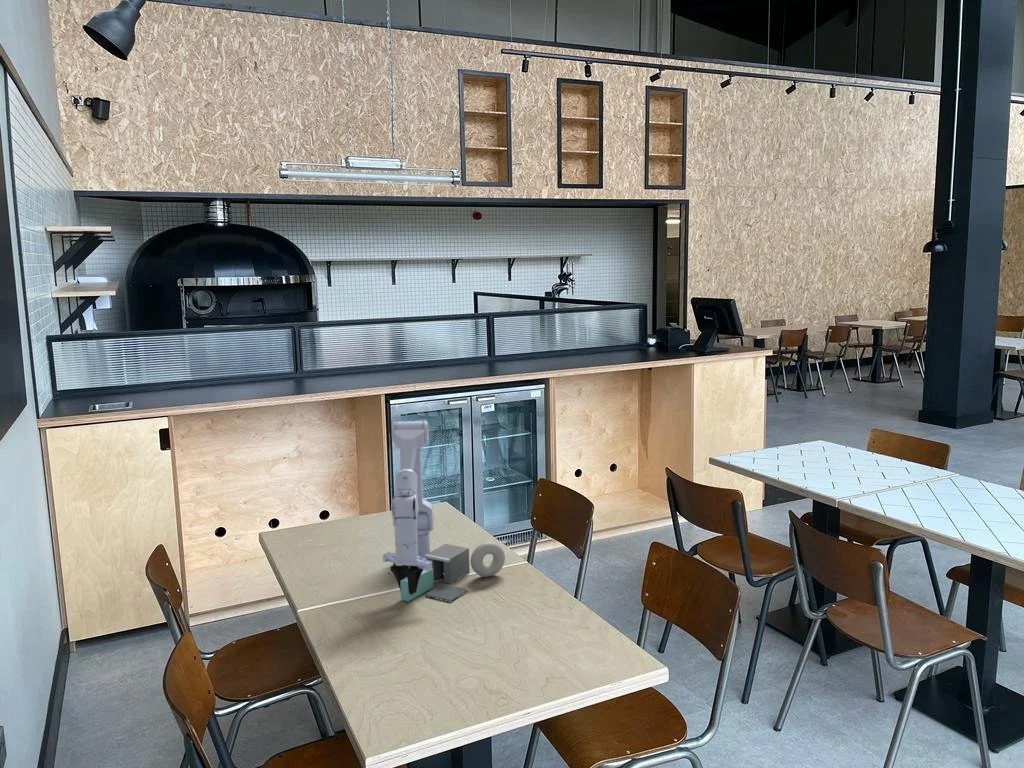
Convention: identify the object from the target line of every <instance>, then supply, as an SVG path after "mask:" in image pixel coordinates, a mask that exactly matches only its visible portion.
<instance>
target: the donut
mask: <svg viewBox="0 0 1024 768" xmlns="http://www.w3.org/2000/svg"><path fill="white" fill-rule="evenodd" d="M487 555H492V561H491V562H490V563H488V564H486V563H484V561H483V560H484V558H485V557H486V556H487ZM505 562H506V555H505V551H504V549H503V547H502V546H501V545H500V544H498V543H497V542H494V541H485V542H482V543H480V544H479V545H477V546H476V547H475V549H473V552H472V554H471V556H470V566H471V569H472V570H473V572H474V573H476V575H477V576H479V577H483V578H486V577H487V578H489V576H490V577H493V576H495V575H497V574H498V573H500V571H501V570H502V568H503V567H504V566H505V565H504V564H505Z"/></svg>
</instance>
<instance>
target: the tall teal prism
mask: <svg viewBox="0 0 1024 768" xmlns="http://www.w3.org/2000/svg"><path fill="white" fill-rule="evenodd" d="M400 586H401V592H400V600H401V601H405V602H410V601H411V600H414V599H416V598H417V597H418V596H421V595H423V594H424V593H426V592H427V590H428V591H430V590H431V589H433V588H434V580H433V569H431V570H429V571H425V569H424V570H423V571H422V573H421V576H420V578H419V581H418V585H417V590H416V592H415V593H414V594H412V595H411V594H410V593H409V587H408V579H407V577H406V578H404V579H402V580H400ZM432 587H433V588H432ZM430 588H431V589H430ZM429 589H430V590H429Z"/></svg>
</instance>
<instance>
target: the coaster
mask: <svg viewBox="0 0 1024 768" xmlns="http://www.w3.org/2000/svg"><path fill="white" fill-rule="evenodd" d="M467 590H468V591H469V588H464V587H462V586H457V585H456V586H455V585H452V584H449V583H442V584H440V585H439V586H437V587H435V588H434V589H432V590H431V591H429V592H428V593H426V594H425V597H426V596H429V597H428V598H430V597H434V598H438V599H442V600H447V601H452V600H454V599H455V598H457V597H458V596H460V595H462V594H463V593H465V592H466V591H467ZM466 593H467V592H466ZM466 593H465V594H466ZM463 595H464V594H463ZM463 595H462V596H463ZM460 597H461V596H460ZM434 598H433V599H434ZM438 599H437V600H438ZM457 599H458V598H457ZM442 600H441V601H442ZM447 601H446V602H447ZM454 601H455V600H454Z"/></svg>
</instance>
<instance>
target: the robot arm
mask: <svg viewBox="0 0 1024 768" xmlns="http://www.w3.org/2000/svg"><path fill="white" fill-rule="evenodd" d="M429 430H430V429H429V422H428V421H427V420H415V421H413V420H412V421H410V420H408V421H406V420H405V421H397V420H395V421H393V423H392V425H391V439H392V442H393V444H394V446H395V448H397V449H399V453H400V454H399V456H400V458H399V460H400V462H399V463H400V470H399V471H398V472H397V473H396V474H395V481H394V496H393V498H391V503H390V504H391V505H390V510H391V512H390V513H391V517H392V518H391V519H392V526H393V528H394V544H395V545H394V548H395V552H389V551H388V552H386V553H383V554H382V562H383V563H387V562H389V563H393V564H392V565H391V566H390V568H389V569H390V571H391V572H392V574H393V576H394V578H395V579H396V582H397V585H398V587H399V591H400V593H401V586H400V580H402V579H404V578H406V577H407V579H408V587H409V593H410V594H411V595H412V594H414V593H415V592H416V590H417V585H418V581H419V578H420V576H421V573H422V571H423V570H424V569H425V571H429V570H431V569H432V561H428V560H427V558H425V555H426V554H428V553H430V552H431V541H430V540H431V537H430V532H432V531H433V530H434V529H435V527H434V526H435V514H434V513H435V512H434V507H433V505H432V503H431V502H429V501H428V500H426V499H425V498H424V493H423V490H424V489H423V472H422V448H423V447H424V446H428V445H429V442H430V438H429V436H430V434H429V433H430V432H429Z"/></svg>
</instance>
